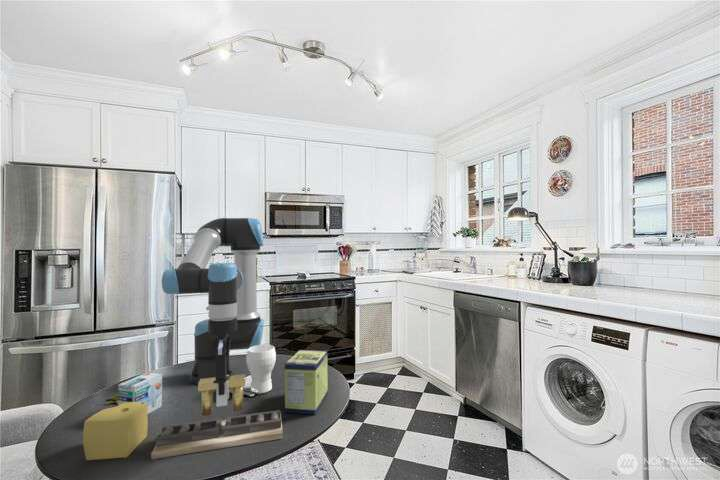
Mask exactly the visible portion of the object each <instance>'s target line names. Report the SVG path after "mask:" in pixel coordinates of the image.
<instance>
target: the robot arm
mask: <svg viewBox="0 0 720 480" xmlns="http://www.w3.org/2000/svg"><path fill="white" fill-rule="evenodd" d="M193 238H194V239H193V240H194V241H193V243H192V244H191V246H190V247H189V249H188V251H187V252H186V254H185V256H184V257H183V258H182V261H181V262H180V264H179V265H178V267H177V268H170V269H169V268H168V269H166V270H164V271H163V274H162V276H161V288H162V291H163V292H164V293H165V294H167V295H189V294H208V296H207V297H208V298H207V299H208V301H207V303H208V306H206V308H205V310H206V311H208V316H207V317H208V318H207V319H204V320H201V321H199V322H197V324H196V323H195V326H194V335H193V337H194V361H193V363H192V367H191V370H190V373H189V382H190V383H191V384H195V385H198V383H199V381H200V379H204V378H214V377H216V380H215V381H214V382H213V383H216V389H215V390H216V393H215V394H216V397H215V398H216V402H215V403H216V404H215V405H216V407H224V406H228V399H229V398H230V388H227V376H231V374H232V370H231V367H230V351H234V350H235V351H236V350H237V351H239V350H248V349H249V348H250V347H253V346H257V345H262V341H263V340H262V339H263V335H264V334H263V333H264V326H265V325H264V324H265V320H264V319H263V318H261V314H260V313H259V312H258V311H257V309H258V307H257V300H258V299H257V294H258V293H257V292H258V291H257V255H258V253H259V252H260V251H261V247H264V244H265V242H264V233H263V226H262V223H261V221H260V220H259V219H258V218H251V217H250V218H249V217H229V218H227V217H221V218H220V217H219V218H215V219H212V220H210V221H209V222H206V223H205V224H203V225H202V226H200V228H199V229H198V230H197V231H196V232H195V234H194V237H193ZM220 247H230V252H231V253H232V254H233V255H234V263H233V262H216V263H215V262H213V263H211V264H209V262H210V261H211V258H212V256H213V253H214V252H215V250H217V249H218V248H220ZM208 264H209V266H208ZM207 266H208V268H207Z"/></svg>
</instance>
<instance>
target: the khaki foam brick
mask: <svg viewBox="0 0 720 480" xmlns="http://www.w3.org/2000/svg"><path fill="white" fill-rule="evenodd" d="M246 377H247V376H246V374H245V373H244V374H234V375H230V376H227V388H229V389H230V388H232V411H233V412H234V413H235V412H240V411H242V410H243V409H244V387H245V386H246ZM215 380H216V377H214V378H204V379H200V381H199V383H198V384H197V392H201V416H204V417H207V416H210V415H212V414H213V413H214V412H213V411H214V409H213V403H214V402H213V401H214V400H213V399H214V393H213V392H214V390H216V383H213V382H214V381H215Z"/></svg>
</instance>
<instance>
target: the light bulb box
mask: <svg viewBox="0 0 720 480" xmlns="http://www.w3.org/2000/svg"><path fill="white" fill-rule="evenodd" d="M117 389H118V390H117V394H118V404H117V406H118V405H120V404H122V403H127V402H147V406H148V415H149V414H150V413H152V412H154V411H157V410H158V409H160V408H161V407H163V405H162V404H163V373H153V372H144V373H142V374H140V375H138V376H137V375H136V377H133V378H131V379H128V380H126V381H123V382H121V383H119V384H118V385H117Z"/></svg>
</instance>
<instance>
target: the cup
mask: <svg viewBox="0 0 720 480" xmlns="http://www.w3.org/2000/svg"><path fill="white" fill-rule="evenodd" d="M246 351H247V352H246V355H245V363H246V366H247V369H248V371H249V373H250V377H251V382H250V388H251V387H252V388H254V389H257V390H258V393H257V394H263V393H268V392H270V391H271V390H272V389H273V384H272V379H271V376H272V371H273V369H274V367H275V363H276V360H277V353H276V347H275V346H274V345H271V344H260V345H257V346H253V347H250V348H249V349H247V350H246Z"/></svg>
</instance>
